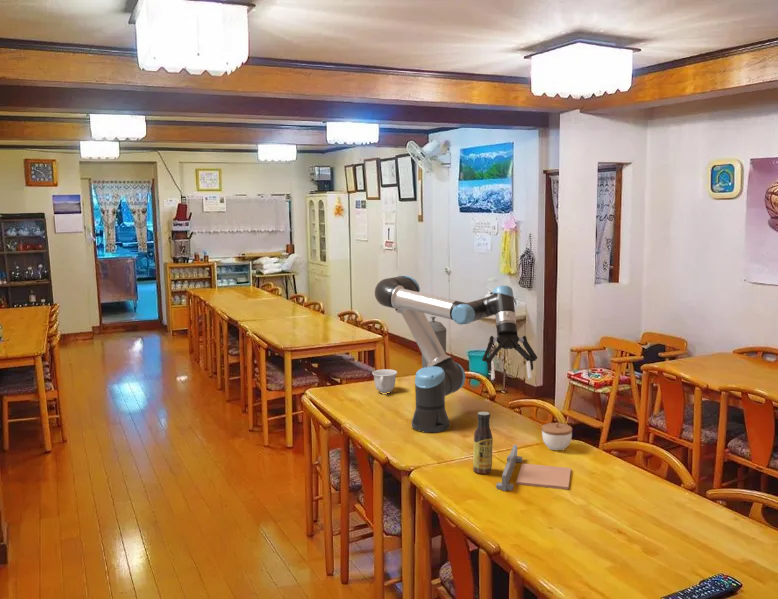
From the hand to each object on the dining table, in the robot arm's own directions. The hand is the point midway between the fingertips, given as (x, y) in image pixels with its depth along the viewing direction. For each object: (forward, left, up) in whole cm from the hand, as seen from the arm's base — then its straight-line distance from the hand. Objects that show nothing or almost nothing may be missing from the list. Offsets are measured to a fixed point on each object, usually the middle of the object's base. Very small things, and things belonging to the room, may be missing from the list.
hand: (511, 379), depth 249 cm
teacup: (-67, +52, -24) cm, 88 cm away
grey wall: (+3, -30, -24) cm, 39 cm away
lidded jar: (+16, -2, -24) cm, 30 cm away
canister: (-46, +68, -24) cm, 86 cm away
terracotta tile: (+14, -30, -24) cm, 41 cm away
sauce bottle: (-6, -30, -24) cm, 39 cm away
